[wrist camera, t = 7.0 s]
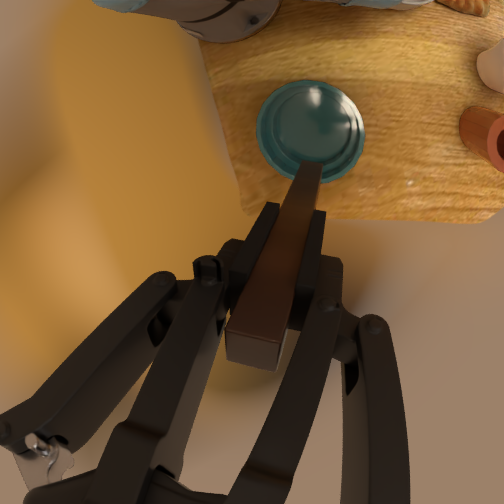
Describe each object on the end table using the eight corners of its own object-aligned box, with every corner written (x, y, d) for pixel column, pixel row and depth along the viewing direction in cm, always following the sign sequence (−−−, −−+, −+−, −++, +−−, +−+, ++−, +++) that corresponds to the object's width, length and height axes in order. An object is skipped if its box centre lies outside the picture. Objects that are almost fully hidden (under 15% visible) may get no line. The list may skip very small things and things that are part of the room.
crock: (463, 99, 25) (493, 106, 18) (499, 116, 24) (532, 129, 17) (454, 144, 29) (481, 163, 22) (490, 159, 28) (520, 181, 21)
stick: (301, 159, 25) (223, 329, 9) (323, 163, 25) (281, 343, 9) (300, 179, 26) (225, 360, 10) (320, 183, 26) (275, 373, 10)
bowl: (270, 76, 32) (258, 75, 28) (366, 90, 30) (371, 91, 25) (264, 162, 40) (253, 175, 35) (352, 177, 37) (354, 193, 33)
